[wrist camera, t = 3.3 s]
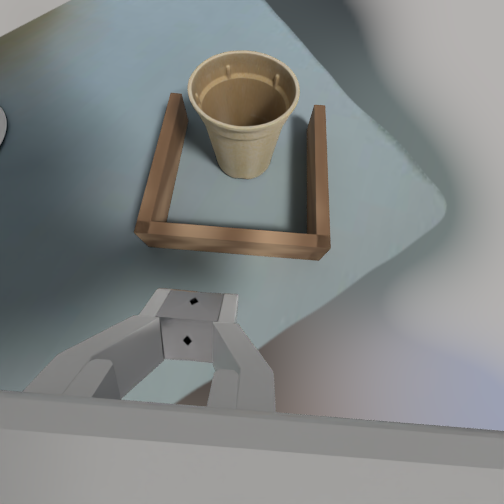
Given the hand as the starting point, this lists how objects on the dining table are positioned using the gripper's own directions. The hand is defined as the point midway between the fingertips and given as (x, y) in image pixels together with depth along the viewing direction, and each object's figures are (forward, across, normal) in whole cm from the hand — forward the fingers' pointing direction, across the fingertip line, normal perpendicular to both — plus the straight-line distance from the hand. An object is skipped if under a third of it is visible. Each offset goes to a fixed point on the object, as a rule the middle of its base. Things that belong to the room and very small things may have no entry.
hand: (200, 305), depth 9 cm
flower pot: (+23, 0, -4) cm, 23 cm away
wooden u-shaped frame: (+20, 0, -1) cm, 21 cm away
